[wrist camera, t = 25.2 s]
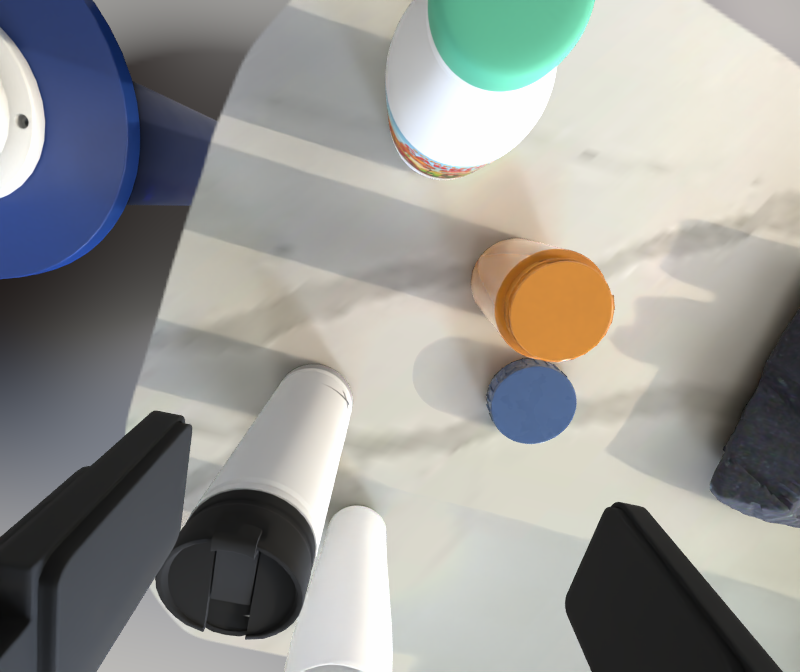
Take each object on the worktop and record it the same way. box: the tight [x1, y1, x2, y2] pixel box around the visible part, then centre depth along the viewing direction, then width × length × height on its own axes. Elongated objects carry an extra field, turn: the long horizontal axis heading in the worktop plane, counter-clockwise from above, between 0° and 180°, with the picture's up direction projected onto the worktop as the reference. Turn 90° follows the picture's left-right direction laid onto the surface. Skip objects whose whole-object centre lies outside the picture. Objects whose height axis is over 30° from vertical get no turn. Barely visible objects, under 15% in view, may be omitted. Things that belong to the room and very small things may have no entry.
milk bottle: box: [386, 0, 595, 180], centre depth 21 cm, size 8×8×20 cm
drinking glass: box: [284, 505, 392, 672], centre depth 33 cm, size 7×7×15 cm
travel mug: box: [155, 364, 353, 640], centre depth 27 cm, size 6×7×20 cm
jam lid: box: [486, 358, 576, 444], centre depth 36 cm, size 7×7×2 cm
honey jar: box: [471, 238, 615, 362], centre depth 29 cm, size 7×7×11 cm
